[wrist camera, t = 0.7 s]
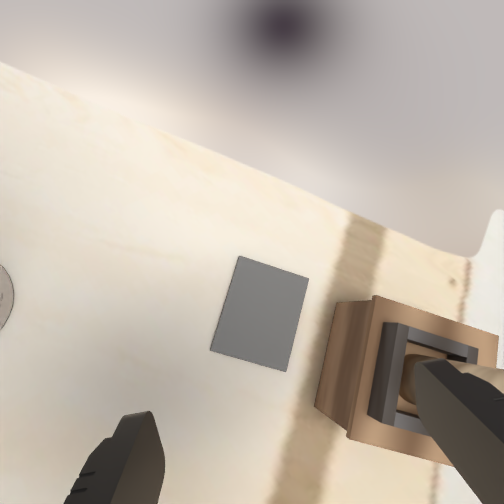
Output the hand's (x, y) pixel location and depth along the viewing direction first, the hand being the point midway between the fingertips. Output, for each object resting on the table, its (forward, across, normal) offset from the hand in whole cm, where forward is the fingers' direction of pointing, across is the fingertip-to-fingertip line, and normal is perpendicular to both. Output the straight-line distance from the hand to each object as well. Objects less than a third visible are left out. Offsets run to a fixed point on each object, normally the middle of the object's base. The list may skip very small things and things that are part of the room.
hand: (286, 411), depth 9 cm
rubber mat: (+22, 0, +7) cm, 23 cm away
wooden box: (+22, -11, +15) cm, 29 cm away
